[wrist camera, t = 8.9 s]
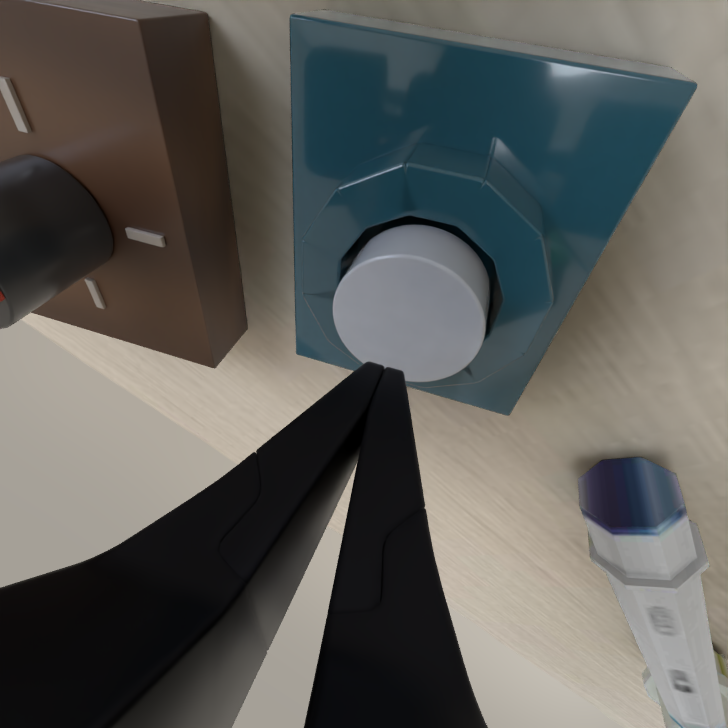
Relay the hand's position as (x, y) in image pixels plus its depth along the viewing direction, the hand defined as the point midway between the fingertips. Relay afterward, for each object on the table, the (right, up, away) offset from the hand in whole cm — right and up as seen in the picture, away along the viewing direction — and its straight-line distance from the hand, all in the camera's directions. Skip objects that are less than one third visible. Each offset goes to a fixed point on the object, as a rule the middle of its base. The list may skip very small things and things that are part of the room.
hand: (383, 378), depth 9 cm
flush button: (+1, +2, +3) cm, 4 cm away
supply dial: (-11, +6, +5) cm, 14 cm away
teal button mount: (+2, +5, +5) cm, 7 cm away
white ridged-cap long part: (+17, -13, +16) cm, 27 cm away
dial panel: (-10, +8, +8) cm, 15 cm away
